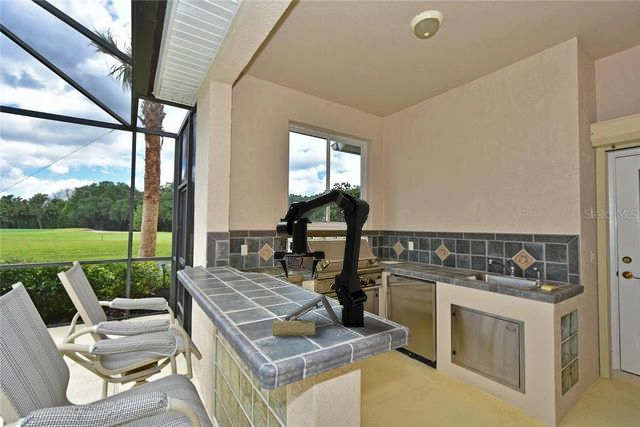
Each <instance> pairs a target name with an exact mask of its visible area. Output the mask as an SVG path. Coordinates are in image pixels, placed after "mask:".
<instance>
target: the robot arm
mask: <svg viewBox="0 0 640 427" xmlns="http://www.w3.org/2000/svg"><path fill="white" fill-rule="evenodd" d="M335 204H336V205H337V207H339V208H340V209H341V210H343V218H344V222H345V224H346V234H345V243H344V250H343V251H344V252H343V261H342V262H343V263H342V268H341V269H342V270H341V272H340V273H337V274H335V275H334V284H333V288H334V293H335V294H336V297H337V301H338V303H339V306H341V309H340V311H341V318H340V319H341V323H342V324H343V327H344V328H345V327H348V328H351V327H356V328H357V327H360V328H361V327H362V328H363V327H366V324H365V310H364V309H365V306H364V303H367V300H368V295H367V294H366V292H365V290H364V289H363V288H362V287H361V286H362V285H361V277H360V275H359V272H358V268H359V259H360V250H361V244H362V243H361V242H362V233H363V227H364V226H365V224H366V222H367V220H368V217H369V213H370V210H371V209H370V204H369V203H368V202H367V201H366V200H364V199H359V198H357V197H355V196H353V195H351V194H349V193H347V192H346V191H344V190H341V189H335V188H334V189H333V190H331V191H329V192H327V193H324V194H322V195H319V196H316V197H315V198H312V199H309V200H302V201H301V200H300V201H294V202H292V203H291V204H290V207H289V208H288V210H287V213H286V215H285V216H284V218H280V220H279V222H278V223H277V224H276V226H275V230H276V233H277V235H278V236H280V237H281V236H283V237H284V236H285V237H287V236H289V237H290V236H291V238H292V241H290V243H289V250H290V251H287V250H280V249H279V250H276V251H274V252H273V260H277V261H276V262H277V263H278V262H279V263H280V264H281V266H282V269H283V271H284V274H285V277H286V279H289V266H288V258H313V260H312V261H313V262H312V268H311V269H312V270H311V279H313V278H314V275H315V272H316V269H317V266H318V264H319V262H322V260H325V259H326V252H325V250H324V249H323V250H322V249H320V250H318V249H314V250H313V251H309V244H308V225H309V224H310V225H311V224H312V223H313V222H312V220H310V219H309V217H310V216H312V215H313V214H314V213H315V212H316V211H319V210H321V209H325V208H326V207H330V206H333V205H335ZM291 251H292V252H291Z"/></svg>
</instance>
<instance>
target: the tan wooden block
mask: <svg viewBox="0 0 640 427" xmlns="http://www.w3.org/2000/svg"><path fill="white" fill-rule="evenodd" d="M272 336H273V337H278V336H282V337H285V336H287V337H288V336H290V337H292V336H295V337H296V336H297V337H298V336H299V337H300V336H303V337H304V336H316V320H293V321H286V320H273V322H272Z"/></svg>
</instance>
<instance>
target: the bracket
mask: <svg viewBox="0 0 640 427" xmlns="http://www.w3.org/2000/svg"><path fill="white" fill-rule="evenodd" d="M319 303H322V304H320V305H319ZM314 307H315V308H316V309H317V310H319V309H320V308H322V307H324V308H325V310H326V312H327V314H328V315H329V316H328V317H329V318H330V319H331V321H332V323H333V325H334V326H338V325H339V322H340V320H339V318H338V317H337V314H336V313H335V311H334V309H333V308H332V305H331V304H330V302H329V300H328V298H327V296H326V294H323V293H322V295H320V296H317V297H316V298H314V299H312V300H311V301H309V302H307V303H305V304H303V305H301V306H300V307H298V308H296V309H294V310H292V311H291V312H289V313H287V315H286V316H285V317H284V321H298V319H299V318H300V317H303V316H305V315H306V314H308V313H309V312H311V311H312V310H314Z"/></svg>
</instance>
